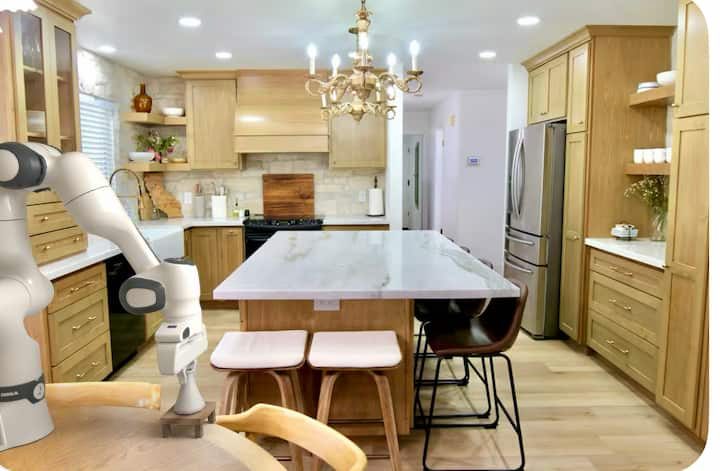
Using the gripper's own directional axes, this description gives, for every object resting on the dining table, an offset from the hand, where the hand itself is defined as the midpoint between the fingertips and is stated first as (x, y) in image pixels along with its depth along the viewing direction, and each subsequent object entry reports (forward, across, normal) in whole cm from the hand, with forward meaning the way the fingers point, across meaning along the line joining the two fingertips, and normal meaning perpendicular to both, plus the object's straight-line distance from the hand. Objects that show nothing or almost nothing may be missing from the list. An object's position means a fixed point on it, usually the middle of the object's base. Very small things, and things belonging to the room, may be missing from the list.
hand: (187, 380), depth 134 cm
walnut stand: (+12, 0, 0) cm, 12 cm away
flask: (+8, 0, 0) cm, 8 cm away
